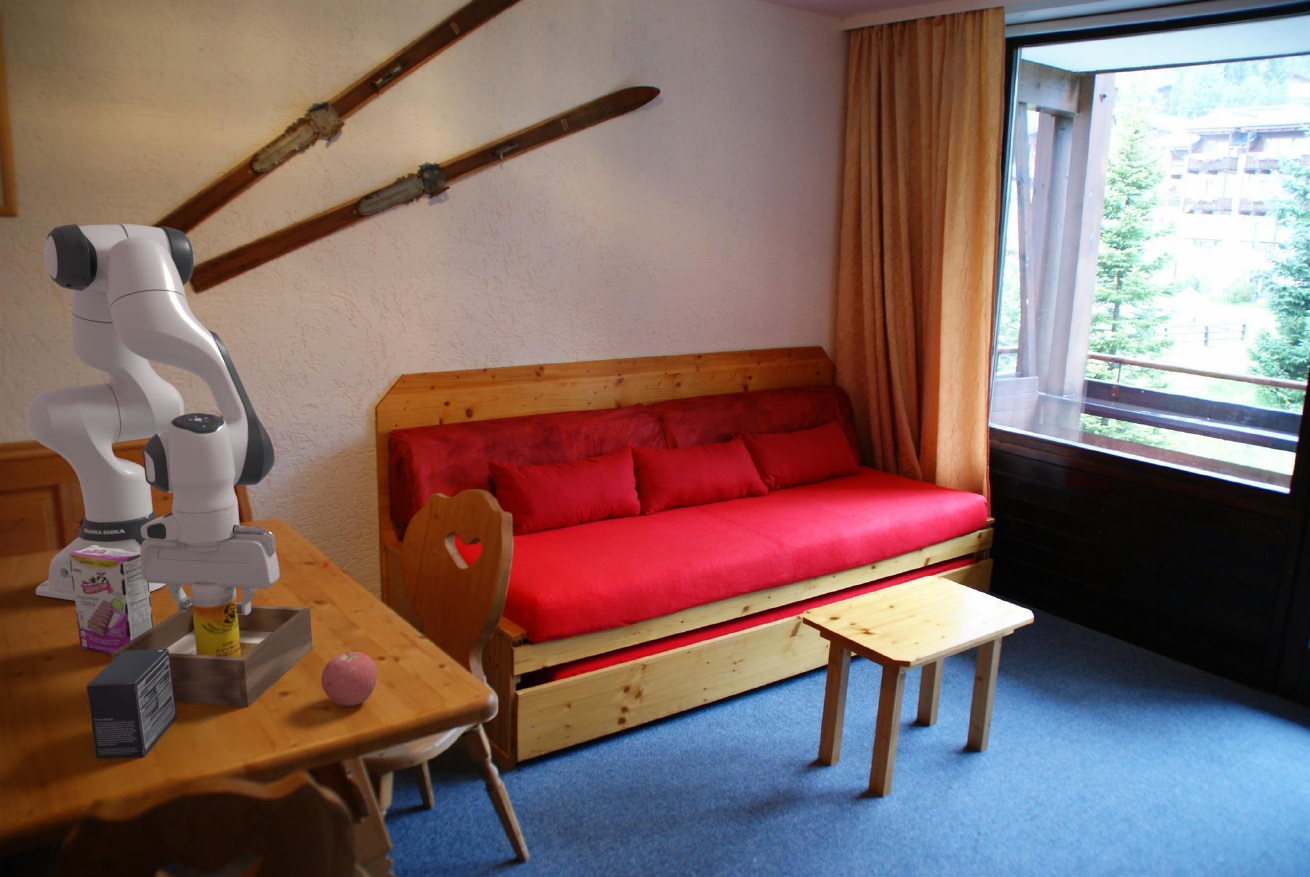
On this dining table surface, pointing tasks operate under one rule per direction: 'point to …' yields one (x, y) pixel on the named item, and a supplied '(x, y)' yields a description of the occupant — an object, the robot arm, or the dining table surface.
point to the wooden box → (234, 681)
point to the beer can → (215, 620)
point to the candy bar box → (109, 597)
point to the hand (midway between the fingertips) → (214, 611)
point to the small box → (131, 703)
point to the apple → (349, 678)
